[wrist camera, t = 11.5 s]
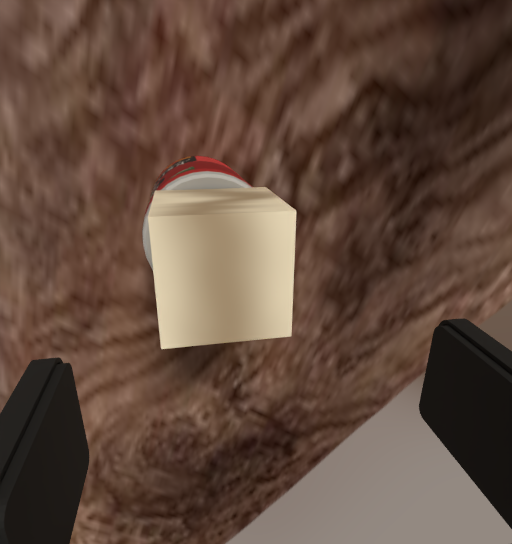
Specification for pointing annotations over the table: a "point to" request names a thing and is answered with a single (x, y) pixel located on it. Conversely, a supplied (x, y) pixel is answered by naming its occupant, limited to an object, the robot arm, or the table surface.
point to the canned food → (191, 183)
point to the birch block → (222, 265)
